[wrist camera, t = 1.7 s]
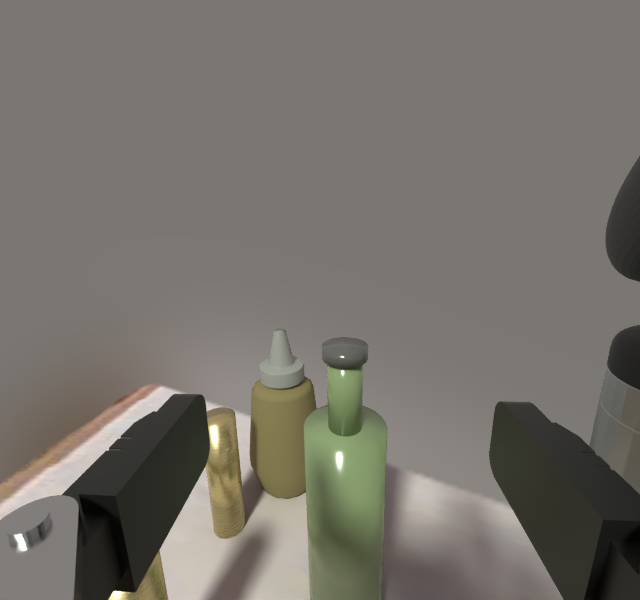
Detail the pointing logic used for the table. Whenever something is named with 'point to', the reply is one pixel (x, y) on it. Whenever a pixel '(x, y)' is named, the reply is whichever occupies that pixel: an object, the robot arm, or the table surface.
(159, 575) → the brass rod
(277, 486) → the squeeze bottle
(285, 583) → the table surface
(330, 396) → the olive bottle
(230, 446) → the brass rod
